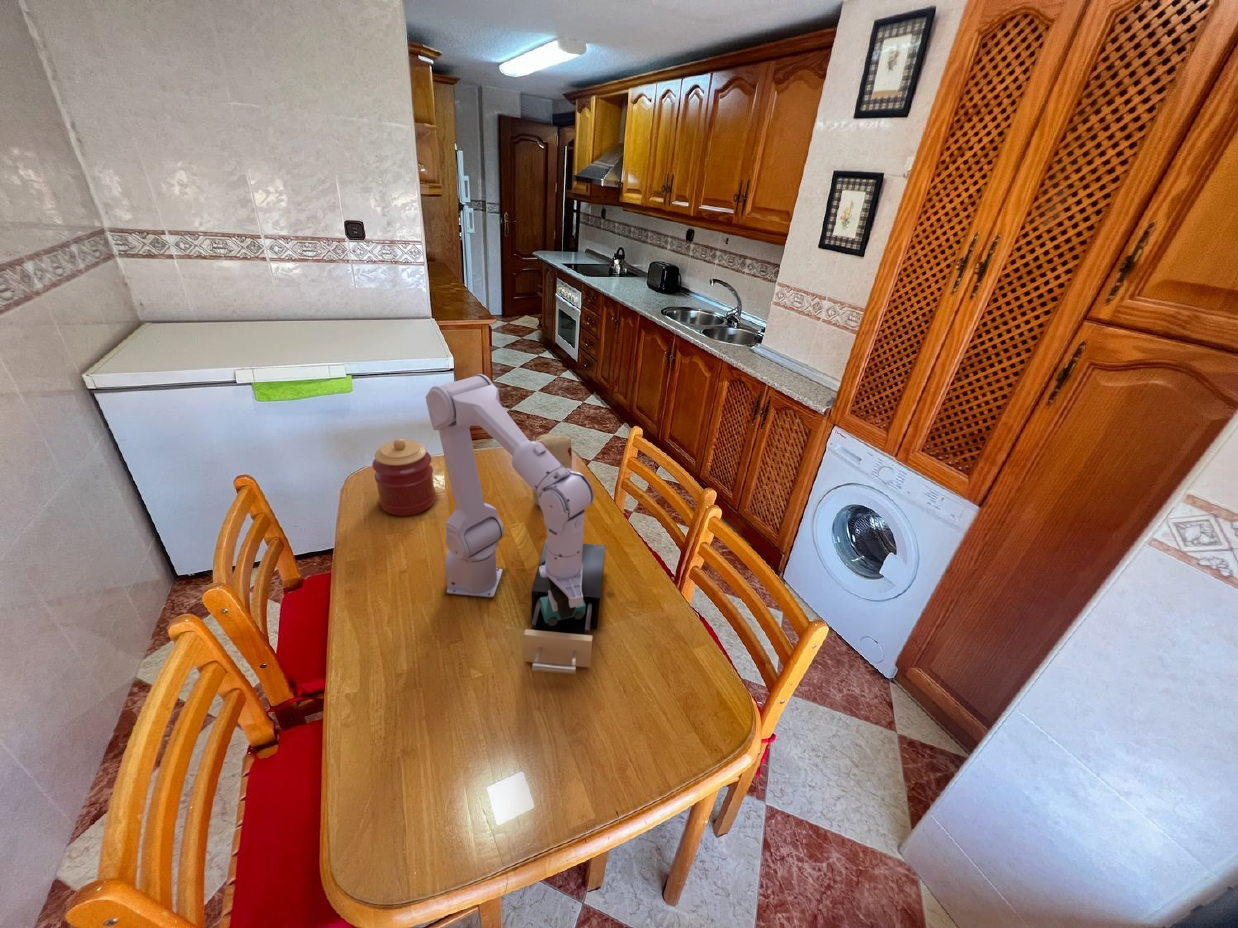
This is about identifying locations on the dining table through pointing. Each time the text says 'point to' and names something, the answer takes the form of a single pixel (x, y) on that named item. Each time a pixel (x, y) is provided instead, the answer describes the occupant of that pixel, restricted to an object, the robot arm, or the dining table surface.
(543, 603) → the toy car
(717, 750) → the dining table surface
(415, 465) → the kitchen canister
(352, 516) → the dining table surface
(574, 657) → the drawer
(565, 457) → the food model
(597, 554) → the black cabinet
